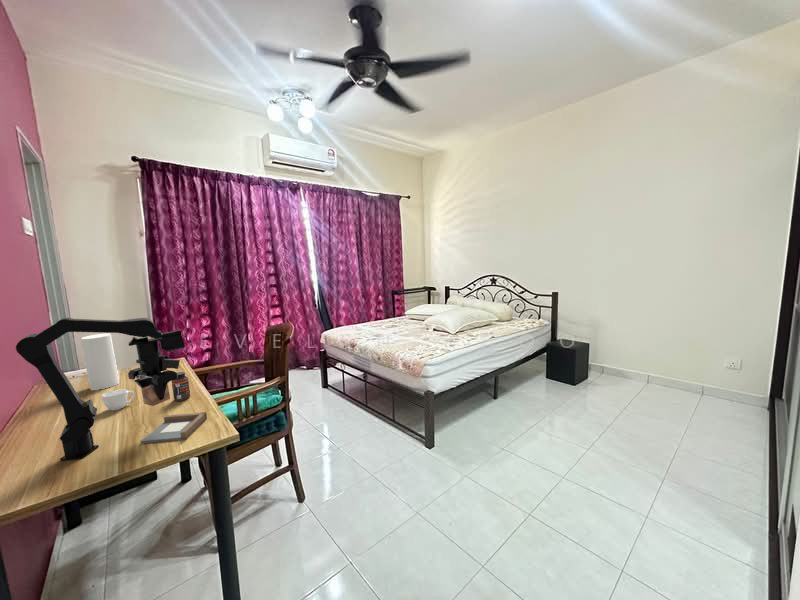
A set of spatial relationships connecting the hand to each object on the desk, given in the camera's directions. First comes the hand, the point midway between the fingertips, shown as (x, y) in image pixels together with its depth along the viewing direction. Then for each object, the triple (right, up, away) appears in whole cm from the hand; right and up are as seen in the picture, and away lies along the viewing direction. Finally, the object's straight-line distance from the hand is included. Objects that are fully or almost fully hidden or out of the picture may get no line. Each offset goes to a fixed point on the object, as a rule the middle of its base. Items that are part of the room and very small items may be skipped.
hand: (156, 398), depth 114 cm
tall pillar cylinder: (-60, -8, +47) cm, 77 cm away
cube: (0, -1, 0) cm, 1 cm away
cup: (-31, -10, +21) cm, 39 cm away
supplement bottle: (-9, -8, +27) cm, 30 cm away
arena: (+6, -11, +1) cm, 13 cm away
